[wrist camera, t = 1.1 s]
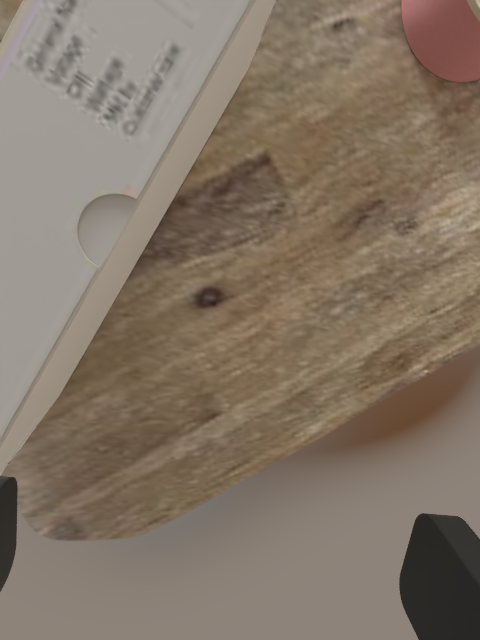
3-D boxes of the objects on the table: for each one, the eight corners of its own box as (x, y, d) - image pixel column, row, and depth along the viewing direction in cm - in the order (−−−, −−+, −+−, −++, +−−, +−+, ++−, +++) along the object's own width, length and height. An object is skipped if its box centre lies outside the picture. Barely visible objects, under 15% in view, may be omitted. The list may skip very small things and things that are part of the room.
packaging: (180, 20, 32) (189, -321, 13) (248, 71, 33) (352, -166, 14) (-10, 360, 34) (-250, 517, 15) (61, 394, 36) (-74, 579, 16)
